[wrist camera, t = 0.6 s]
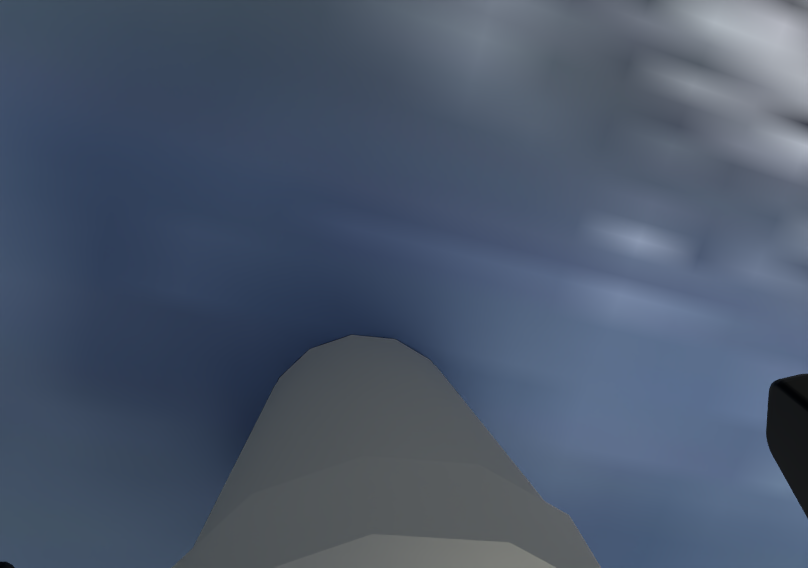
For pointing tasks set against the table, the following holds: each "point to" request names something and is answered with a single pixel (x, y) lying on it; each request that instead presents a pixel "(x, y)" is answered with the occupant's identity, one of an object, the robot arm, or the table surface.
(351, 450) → the foam cup
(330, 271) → the table surface
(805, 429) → the robot arm
